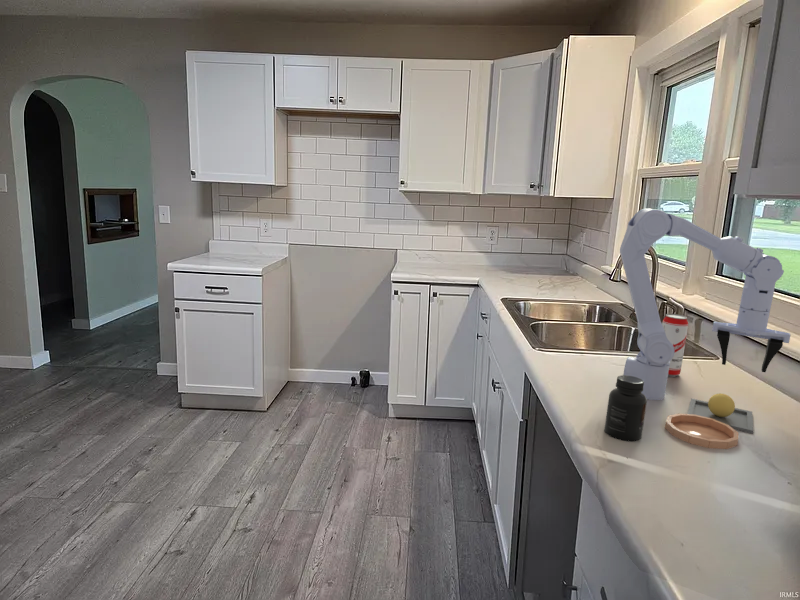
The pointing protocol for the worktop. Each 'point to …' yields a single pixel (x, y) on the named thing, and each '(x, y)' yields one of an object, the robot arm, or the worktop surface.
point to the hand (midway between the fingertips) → (743, 367)
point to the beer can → (676, 340)
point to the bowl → (702, 431)
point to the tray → (736, 420)
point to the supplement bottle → (626, 409)
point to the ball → (721, 405)
